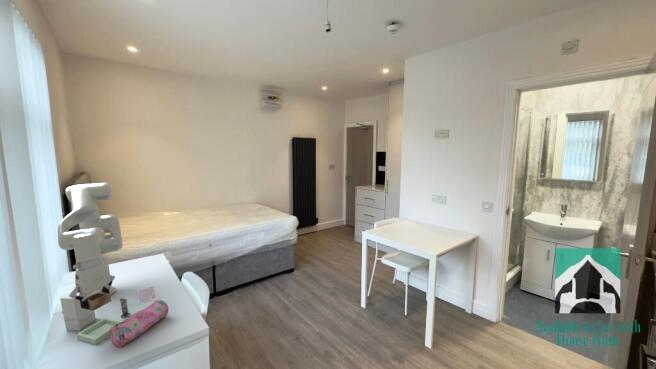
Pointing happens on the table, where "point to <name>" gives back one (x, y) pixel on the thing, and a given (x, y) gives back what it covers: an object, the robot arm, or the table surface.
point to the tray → (97, 331)
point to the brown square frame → (98, 300)
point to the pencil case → (138, 323)
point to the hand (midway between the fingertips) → (96, 302)
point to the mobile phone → (146, 295)
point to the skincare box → (75, 313)
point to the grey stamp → (124, 308)
